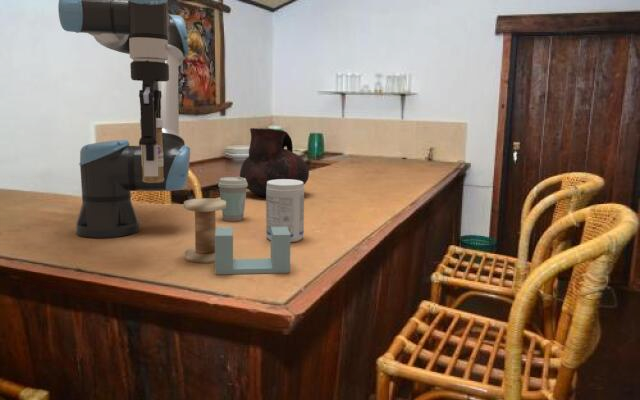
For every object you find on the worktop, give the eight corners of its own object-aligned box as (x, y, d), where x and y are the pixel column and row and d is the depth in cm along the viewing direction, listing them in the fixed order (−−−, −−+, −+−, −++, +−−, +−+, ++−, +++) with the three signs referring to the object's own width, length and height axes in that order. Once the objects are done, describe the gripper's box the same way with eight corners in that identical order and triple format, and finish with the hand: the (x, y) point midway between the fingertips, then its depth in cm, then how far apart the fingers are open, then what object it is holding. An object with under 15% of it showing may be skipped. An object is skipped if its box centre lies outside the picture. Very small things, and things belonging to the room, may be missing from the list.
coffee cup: (242, 223, 151) (242, 181, 149) (213, 221, 153) (213, 179, 151) (251, 217, 160) (251, 177, 158) (224, 215, 161) (224, 176, 159)
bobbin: (183, 263, 114) (181, 206, 111) (186, 251, 122) (185, 198, 120) (225, 262, 115) (225, 205, 113) (226, 250, 124) (226, 198, 121)
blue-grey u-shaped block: (215, 274, 107) (214, 235, 105) (216, 264, 114) (216, 227, 112) (289, 272, 109) (290, 234, 108) (286, 262, 116) (287, 226, 115)
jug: (320, 194, 202) (322, 128, 197) (281, 204, 181) (282, 130, 176) (268, 187, 215) (268, 125, 210) (225, 196, 194) (225, 126, 189)
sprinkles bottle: (152, 184, 111) (150, 118, 108) (137, 181, 113) (135, 117, 110) (169, 181, 115) (167, 118, 112) (153, 179, 117) (151, 117, 114)
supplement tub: (285, 232, 143) (286, 177, 140) (311, 239, 136) (312, 182, 134) (258, 238, 136) (258, 181, 133) (283, 245, 130) (284, 185, 127)
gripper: (163, 59, 101) (166, 180, 106) (173, 64, 118) (175, 168, 123) (122, 57, 100) (126, 180, 105) (137, 63, 117) (141, 168, 121)
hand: (153, 174), depth 114 cm, fingers closed on sprinkles bottle, 4 cm apart
